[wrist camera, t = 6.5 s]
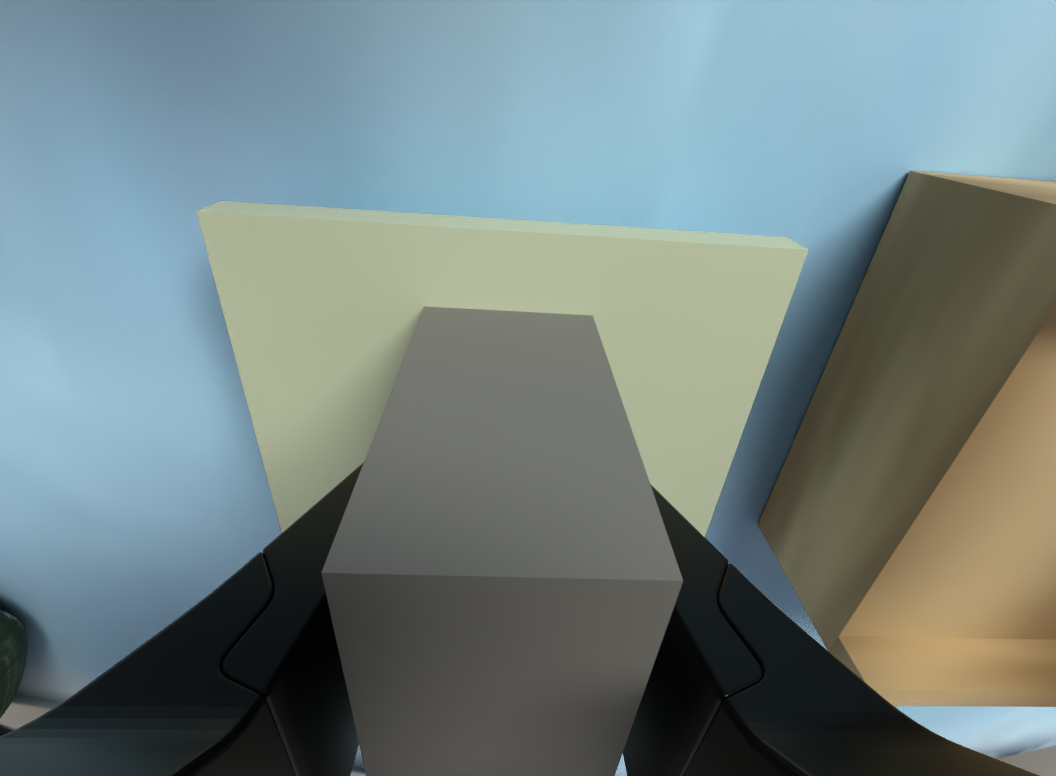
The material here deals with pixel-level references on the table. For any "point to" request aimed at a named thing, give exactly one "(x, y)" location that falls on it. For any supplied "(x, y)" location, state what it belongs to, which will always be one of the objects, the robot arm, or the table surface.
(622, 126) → the table surface
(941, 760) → the robot arm
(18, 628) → the coffee jar
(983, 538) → the oak box
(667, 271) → the cover plate
